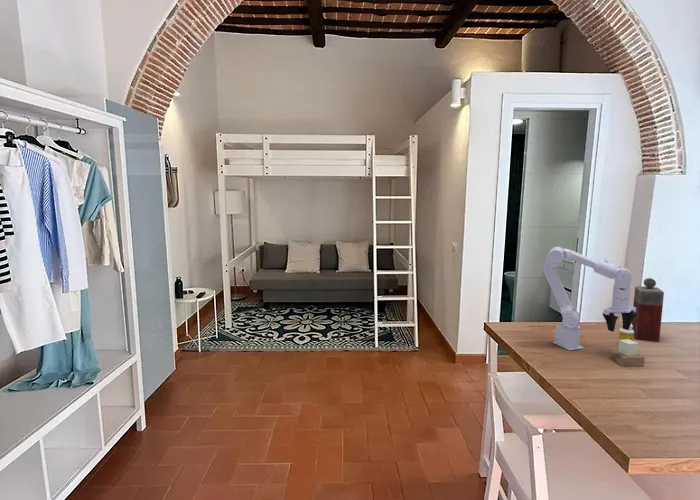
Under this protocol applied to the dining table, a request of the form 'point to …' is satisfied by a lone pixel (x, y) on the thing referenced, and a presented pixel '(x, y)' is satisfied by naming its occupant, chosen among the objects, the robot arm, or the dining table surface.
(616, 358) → the walnut block
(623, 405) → the dining table surface
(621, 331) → the supplement bottle
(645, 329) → the red lidded box
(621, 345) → the sage block
